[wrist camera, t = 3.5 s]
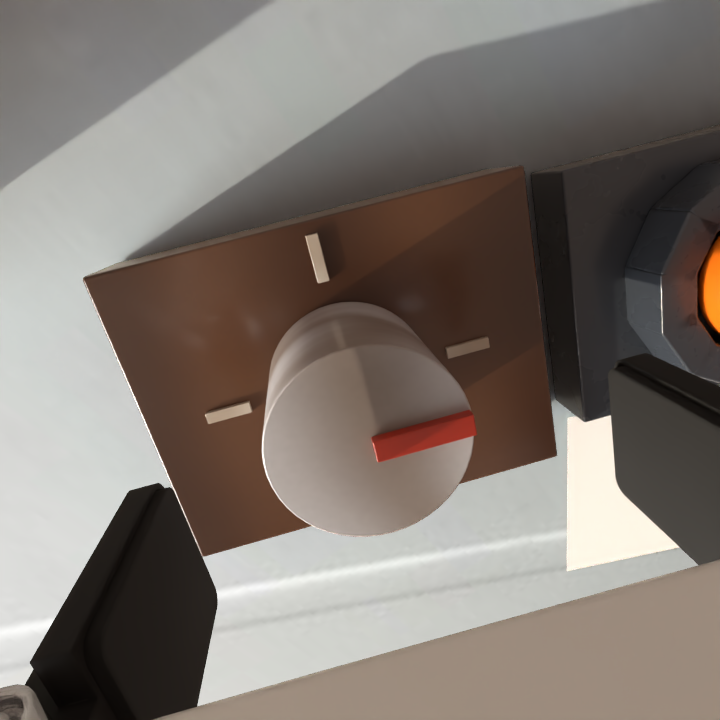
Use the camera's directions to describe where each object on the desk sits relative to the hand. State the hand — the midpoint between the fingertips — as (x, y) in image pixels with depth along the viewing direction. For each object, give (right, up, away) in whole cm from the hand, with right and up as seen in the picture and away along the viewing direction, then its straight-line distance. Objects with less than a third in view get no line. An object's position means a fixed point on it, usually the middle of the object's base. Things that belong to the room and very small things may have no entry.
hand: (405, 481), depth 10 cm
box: (+11, +6, +9) cm, 16 cm away
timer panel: (-2, +3, +8) cm, 9 cm away
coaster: (+12, -3, +12) cm, 17 cm away
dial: (-1, +2, +5) cm, 6 cm away
